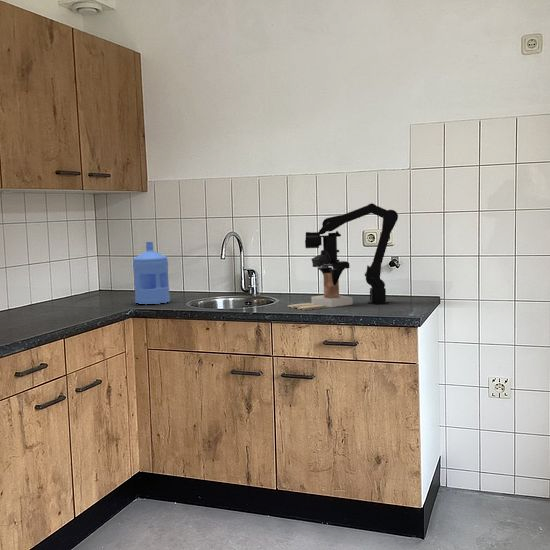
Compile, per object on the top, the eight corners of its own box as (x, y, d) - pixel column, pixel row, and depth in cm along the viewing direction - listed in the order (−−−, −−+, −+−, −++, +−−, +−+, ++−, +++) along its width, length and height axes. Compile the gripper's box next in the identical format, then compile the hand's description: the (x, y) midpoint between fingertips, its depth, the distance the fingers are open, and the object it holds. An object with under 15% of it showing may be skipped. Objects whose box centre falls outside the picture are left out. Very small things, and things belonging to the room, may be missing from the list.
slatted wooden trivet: (325, 307, 269) (325, 305, 269) (305, 310, 264) (305, 308, 263) (307, 304, 280) (307, 302, 280) (287, 307, 275) (287, 305, 274)
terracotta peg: (339, 296, 277) (338, 272, 276) (330, 297, 275) (329, 273, 274) (332, 295, 281) (331, 272, 280) (324, 296, 279) (323, 273, 278)
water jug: (129, 303, 305) (126, 242, 302) (160, 299, 314) (157, 240, 311) (144, 306, 292) (140, 243, 289) (176, 302, 302) (172, 241, 299)
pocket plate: (352, 304, 275) (352, 297, 275) (331, 307, 270) (331, 299, 269) (332, 301, 287) (332, 294, 287) (311, 303, 281) (311, 296, 281)
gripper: (301, 248, 280) (302, 284, 281) (327, 249, 264) (328, 288, 266) (322, 246, 286) (324, 282, 287) (349, 247, 270) (350, 285, 271)
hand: (331, 284), depth 278 cm, fingers closed on terracotta peg, 4 cm apart
